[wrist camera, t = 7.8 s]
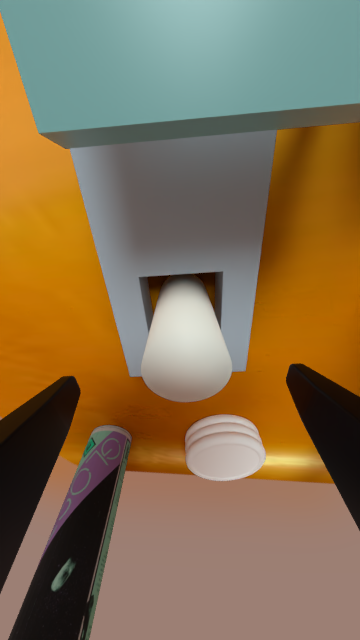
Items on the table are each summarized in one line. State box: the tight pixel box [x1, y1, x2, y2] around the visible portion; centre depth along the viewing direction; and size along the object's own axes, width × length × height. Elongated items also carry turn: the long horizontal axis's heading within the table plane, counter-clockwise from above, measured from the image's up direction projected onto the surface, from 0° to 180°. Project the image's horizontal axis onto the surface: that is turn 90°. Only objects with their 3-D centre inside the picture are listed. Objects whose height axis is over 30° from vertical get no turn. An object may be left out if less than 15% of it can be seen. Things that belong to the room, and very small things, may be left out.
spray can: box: [8, 425, 132, 640], centre depth 18 cm, size 6×6×20 cm
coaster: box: [185, 414, 266, 481], centre depth 25 cm, size 10×10×4 cm
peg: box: [141, 274, 232, 402], centre depth 12 cm, size 4×4×9 cm
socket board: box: [70, 130, 277, 377], centre depth 14 cm, size 18×10×3 cm, turn 4°
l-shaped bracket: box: [0, 0, 360, 149], centre depth 7 cm, size 6×12×9 cm, turn 94°
